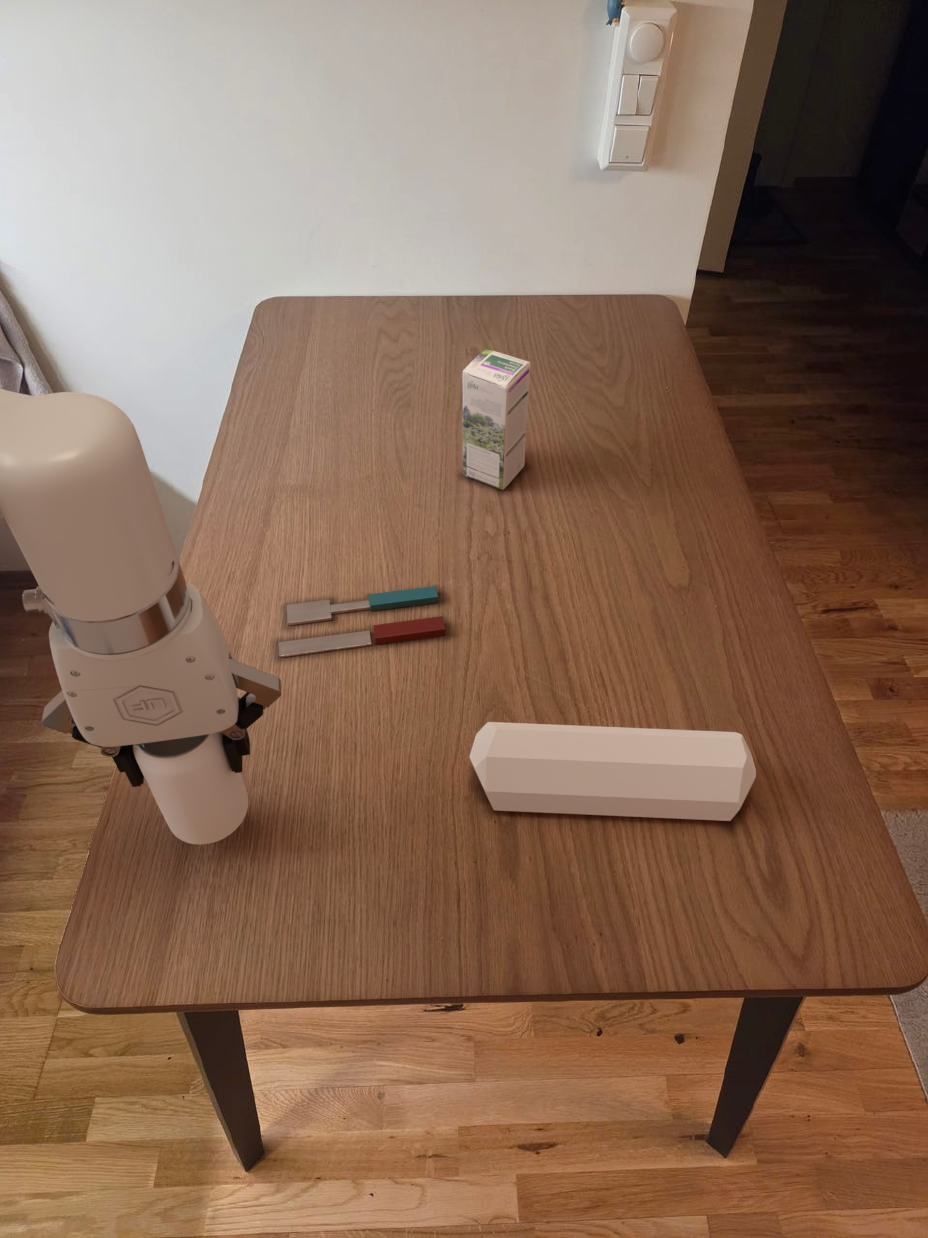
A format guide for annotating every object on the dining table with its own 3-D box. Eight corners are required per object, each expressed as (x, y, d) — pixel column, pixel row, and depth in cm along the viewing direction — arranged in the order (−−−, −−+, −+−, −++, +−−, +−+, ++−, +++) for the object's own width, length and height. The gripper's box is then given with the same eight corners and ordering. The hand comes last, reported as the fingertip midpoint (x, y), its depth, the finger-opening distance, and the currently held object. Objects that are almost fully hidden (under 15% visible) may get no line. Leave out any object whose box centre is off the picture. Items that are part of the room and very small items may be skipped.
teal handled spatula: (288, 625, 86) (286, 619, 86) (287, 607, 88) (285, 601, 88) (439, 606, 88) (439, 600, 88) (435, 588, 90) (435, 582, 89)
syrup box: (525, 466, 104) (533, 358, 93) (502, 493, 101) (507, 384, 90) (485, 451, 106) (487, 344, 95) (460, 477, 103) (460, 369, 92)
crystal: (747, 708, 75) (472, 697, 76) (772, 744, 68) (469, 731, 69) (736, 784, 77) (469, 772, 78) (760, 827, 70) (466, 813, 71)
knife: (279, 657, 84) (278, 651, 83) (278, 644, 85) (277, 637, 84) (445, 635, 86) (445, 629, 85) (442, 622, 87) (442, 615, 86)
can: (165, 787, 71) (123, 698, 62) (244, 768, 72) (215, 678, 63) (170, 857, 66) (127, 772, 58) (254, 835, 68) (225, 749, 59)
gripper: (-48, 663, 47) (61, 825, 61) (270, 625, 49) (308, 790, 63) (-20, 569, 52) (75, 738, 66) (268, 539, 54) (304, 708, 68)
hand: (188, 762), depth 64 cm, fingers closed on can, 6 cm apart
